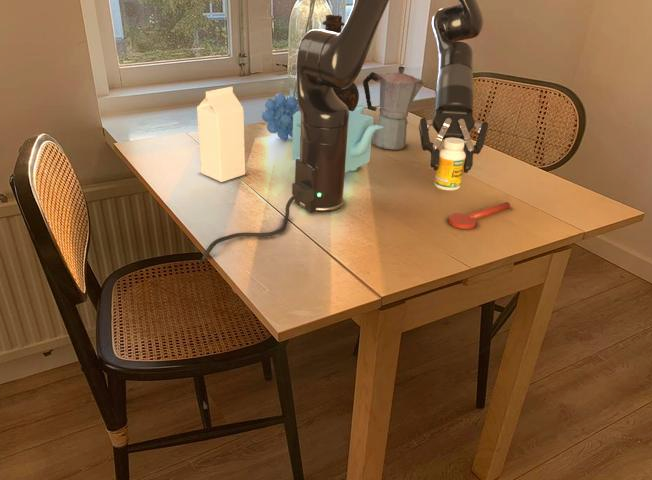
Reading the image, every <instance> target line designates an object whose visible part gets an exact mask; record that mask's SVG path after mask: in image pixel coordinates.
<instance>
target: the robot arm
mask: <svg viewBox="0 0 652 480" xmlns="http://www.w3.org/2000/svg"><path fill="white" fill-rule="evenodd" d="M389 1H390V0H353V3H352V8H351V11H350V13H349V16H348V18H347V20H346V22H345V23H344V26H343V28H342V29H341V33H336V32H331V31H326V30H325V29H318V28H316V29H311V30H309V31H307V32H306V33H305V34H304V35H303V37H302V38H301V40H300V42H299V45H298V48H297V53H296V61H295V63H296V64H295V66H296V67H295V69H296V71H295V72H296V73H295V74H296V100H297V103H298V104H297V106H298V107H299V109H300V112H301V132H300V158H297V159H296V161H295V160H294V161H295V163H294V164H295V165H294V166H295V167H294V182H292V183H291V192H292V193H291V195H292V196H291V197H290V198H289V199H288V201H287V202H286V205H285V213H284V218H283V223H282V226H281V227H280V228H278V229H276V230H273V231H269V232H237V233H232V234H228V235H225V236H221V237H219V238H216V239H215V240H213V241H212V242H211V243H210V244H209V246H207V248H206V249H205V251H204V253H203V255H202V257H201V260H206V259H207V258H208V256H209V255H210V253H211V252H212V250H213V249H214V248H215V246H217V245H218V244H220V243H222V242H225V241H228V240H232V239H235V238H241V237H242V238H243V237H245V238H246V237H253V238H254V237H256V238H263V237H264V238H265V237H266V238H267V237H272V236H275V235H277V234H280V233H282V232H284V231H286V228H287V224H288V221H289V218H290V208H291V205H292V204H293V202H294V203H295V204H296V205H298V206H299V207H301V208H302V209H305V210H306V211H307V212H309V213H311V214H312V213H331V212H335V211H338V210H339V209H341V208H342V207H343V206H344V190H345V176H346V175H345V174H346V173H345V163H346V149H347V135H348V121H349V109H348V107H347V106H346V105H345V104H344V103H343V102H342V101H341V100H340V99H339V98H338V97H337V96H336V94H335V92H334V90H333V88H336V89H345V88H347V87H349V86H350V85H351V84H352V83H353V82H354V83H355V81H356V79H358V76H359V75H360V72H361V70H362V69H363V66H364V64H365V61H366V59H367V56H368V53H369V51H370V48H371V45H372V43H373V40H374V37H375V35H376V32H377V30H378V27H379V24H380V22H381V19H382V17H383V16H384V13H385V11H386V8H387V6H388V4H389ZM458 1H459V2H460V4H454V5H450V6H446V7H445V6H444V7H442V8H438V9H437V10H436V11H435V13H434V14H433V16H432V18H431V31H432V34H433V37H434V40H435V44H436V48H437V53H438V56H437V57H438V63H437V77H436V83H435V89H434V93H435V99H434V101H435V103H434V116H433V118H432V119H426V118H425V117H421V118H420V120H419V123H418V131H419V136H420V142H421V149H422V150H423V151H428V152H430V167H431V168H432V169H433V171H434V172H436V171H437V170H438V167H439V151H440V150H441V149H439V148H440V147H441V145H442V143H443V142H444V140H445V139H446V138H451V137H453V138H460V139H462V140H464V141H465V144H464V148H463V149H462V150H463V151H464V152H465V154H466V158H465V164H464V169H463V173H465V174H468V172H469V171H471V169H472V167H473V164H474V163H473V162H474V155H475V154H476V155H479V154H480V153H481V151H482V149H483V147H484V144H485V140H486V136H487V132H488V129H489V128H488V127H489V123H488V122H487V121H484V122H482V123H481V122H478V121H477V122H476V120H475V118H474V116H473V113H474V112H473V111H474V74H473V73H474V71H473V70H474V66H473V65H474V51H473V50H474V49H473V47H472V46H471V45H470V44H469V43H466V42H464V40H470V39H475V38H477V37H479V35H480V34H481V33H482V31H483V28H484V20H485V19H484V15H483V12H482V9H481V6H480V4H479V2H478V0H458ZM431 126H432V128H433V129H434V130H435V131H436V133H437V136H436V138H435V140H434V141H433V142H432V141H431V140H430V133H429V131H430V130H431ZM473 129H474V132H475V135H477V137H476V142H475V145H474V144H473V142H472V138H471V135H470V132H471V131H472V130H473ZM202 404H203V406H202V407H203V409H204V410H207V409H208V405H207V404H206V402H205V401H204V400H202Z"/></svg>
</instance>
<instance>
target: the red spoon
mask: <svg viewBox="0 0 652 480" xmlns="http://www.w3.org/2000/svg"><path fill="white" fill-rule="evenodd" d="M510 207H511V203H510V202H509V201H505V202H502V203H499V204H496V205H493V206H489V207H487V208H483V209H481V210H478V211H475V212H472V213H469V214H467V213H453V214H451V215H449V218H448V223H449V224H450V226H452V227H454V228H456V229H461V230H469V229H473V228H475V227H476V224H477V220H478V219H481V218H484V217H487V216H490V215H492V214H495V213H499V212H502V211H506V210H508V209H510Z"/></svg>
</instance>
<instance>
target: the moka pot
mask: <svg viewBox="0 0 652 480" xmlns="http://www.w3.org/2000/svg"><path fill="white" fill-rule="evenodd" d="M405 69H406V68H405V67H404V66H398V72H387V73H376V72H373V71H372V72H370V73H369V74H368V75H367V76H366V77H365V78H364V79H363V82H362V85H363V90H364V95H365V99H366V101H365V102H366V104H367V105H366V107H367V109H368V110H369V111H373V112H377V110H378V107H377V106H373V105H372V100H371V92H370V85H369V82H370V81H374V82H375V83H379V106H380V108H379V115H378V118H377V121H376V125H379V126H382V127H383V128H382V129H378V130H377V131H375V132H374V134H373V136H372V139H371V144H372V145H374V146H377V147H378V148H381V149H383V150H392V151H394V150H395V151H397V150H402V149H404V148H405V147H406V144H407V127H408V126H407V125H408V123H409V122H408V117H409V111H410V110H411V109H412V106H413V103H414V101H415V98H416V96H417V95H418V94H419V93H420V91H421V89H422V87H423V86H424V85H426V83H425V82H424V80H423V79H421V78H418V77H415V76H413V75H411V74H406V73H404V72H405Z"/></svg>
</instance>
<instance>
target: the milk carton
mask: <svg viewBox="0 0 652 480" xmlns="http://www.w3.org/2000/svg"><path fill="white" fill-rule="evenodd" d="M244 114H245V113H244V107H243V106H242V104H241V102H240V101H239V99H238V98H237V96H236V94H235V93H234V89H233V86H227V87H222V88H217V89H213V90H207V91H205V97H204V99H203V100H201V102H200V103H199V104H198V105H197V107H196V115H197V117H196V118H197V129H198V142H199V143H198V144H199V158H200V171H201V174H202V175H203V176H207V177H209V178H211V179H213V180H216V181H218V182H220V183H223V182H226V181H227V182H228V181H230V180H232V179H236V178H238V177H241V176H244V175H246V153H245V152H246V151H245V149H246V148H245V115H244Z"/></svg>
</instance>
